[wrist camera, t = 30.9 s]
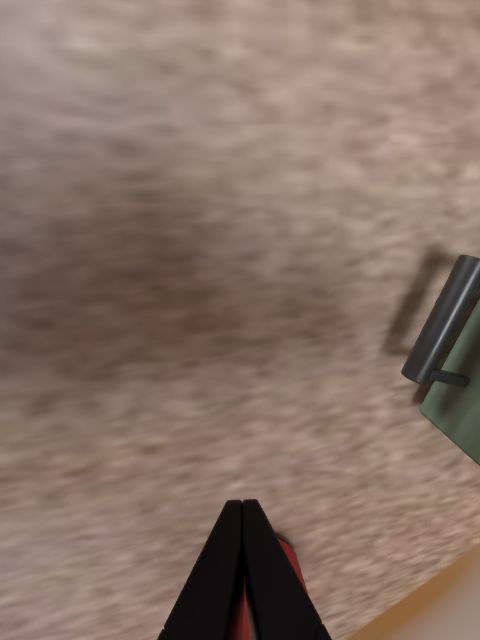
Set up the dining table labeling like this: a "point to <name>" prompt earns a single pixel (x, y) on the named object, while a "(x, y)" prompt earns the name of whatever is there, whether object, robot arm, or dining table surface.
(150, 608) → the dining table surface
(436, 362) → the drawer
